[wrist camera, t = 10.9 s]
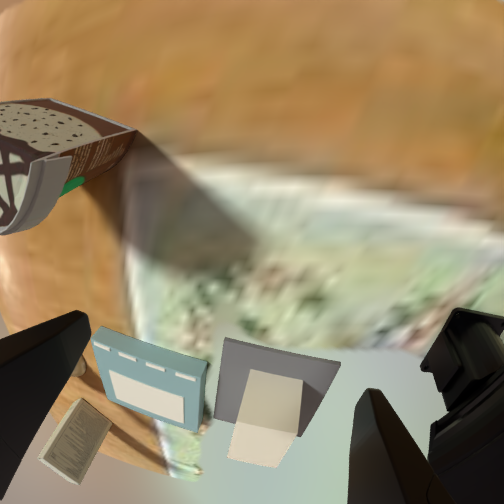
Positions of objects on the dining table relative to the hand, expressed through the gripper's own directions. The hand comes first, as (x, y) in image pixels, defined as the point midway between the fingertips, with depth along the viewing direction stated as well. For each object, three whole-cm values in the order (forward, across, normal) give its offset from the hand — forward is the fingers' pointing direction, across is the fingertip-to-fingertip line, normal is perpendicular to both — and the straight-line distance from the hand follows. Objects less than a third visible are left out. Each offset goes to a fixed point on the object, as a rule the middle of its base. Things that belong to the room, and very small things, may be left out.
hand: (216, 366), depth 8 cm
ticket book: (+12, +8, +18) cm, 24 cm away
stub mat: (+12, -3, +16) cm, 20 cm away
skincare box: (+12, +20, +34) cm, 41 cm away
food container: (+12, +15, -3) cm, 20 cm away
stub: (+12, -3, +16) cm, 20 cm away
